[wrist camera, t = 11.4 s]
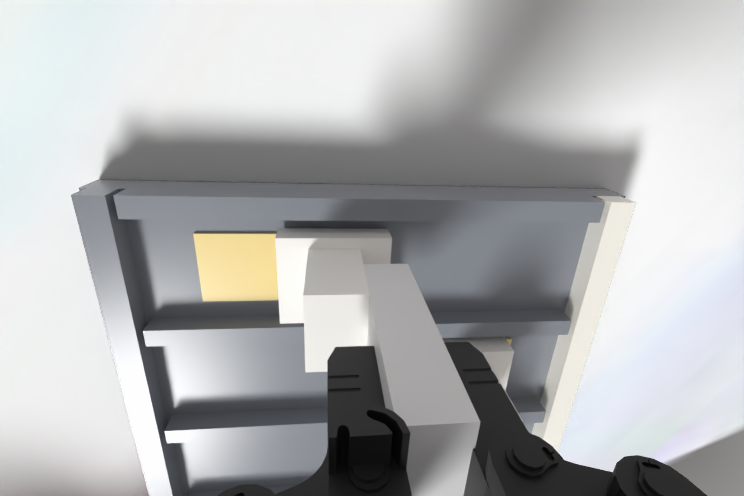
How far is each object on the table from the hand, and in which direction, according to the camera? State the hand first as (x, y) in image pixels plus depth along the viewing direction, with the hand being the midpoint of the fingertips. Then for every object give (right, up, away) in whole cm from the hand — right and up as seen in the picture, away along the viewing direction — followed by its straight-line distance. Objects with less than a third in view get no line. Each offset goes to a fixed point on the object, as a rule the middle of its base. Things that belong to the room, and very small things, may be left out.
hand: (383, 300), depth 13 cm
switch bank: (-1, -3, +5) cm, 6 cm away
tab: (-2, +1, +2) cm, 3 cm away
